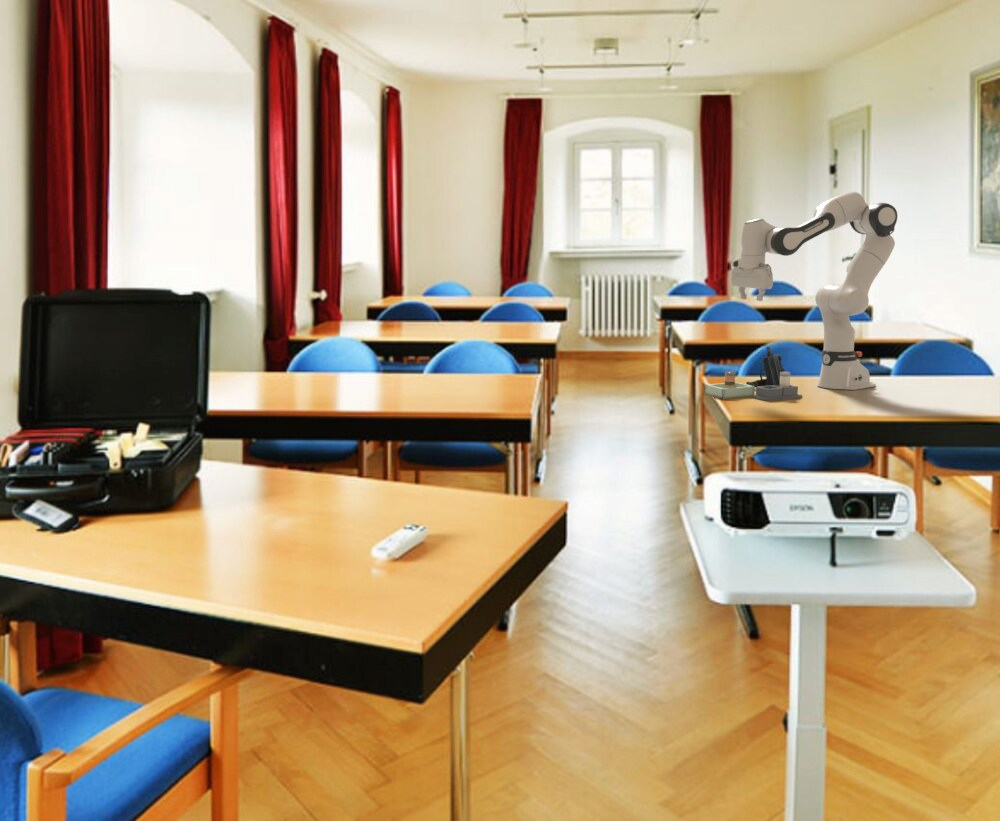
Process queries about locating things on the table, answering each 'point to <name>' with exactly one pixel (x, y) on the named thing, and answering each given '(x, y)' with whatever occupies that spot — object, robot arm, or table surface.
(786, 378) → the ball
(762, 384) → the gun
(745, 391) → the tray
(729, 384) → the fuse
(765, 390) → the block
